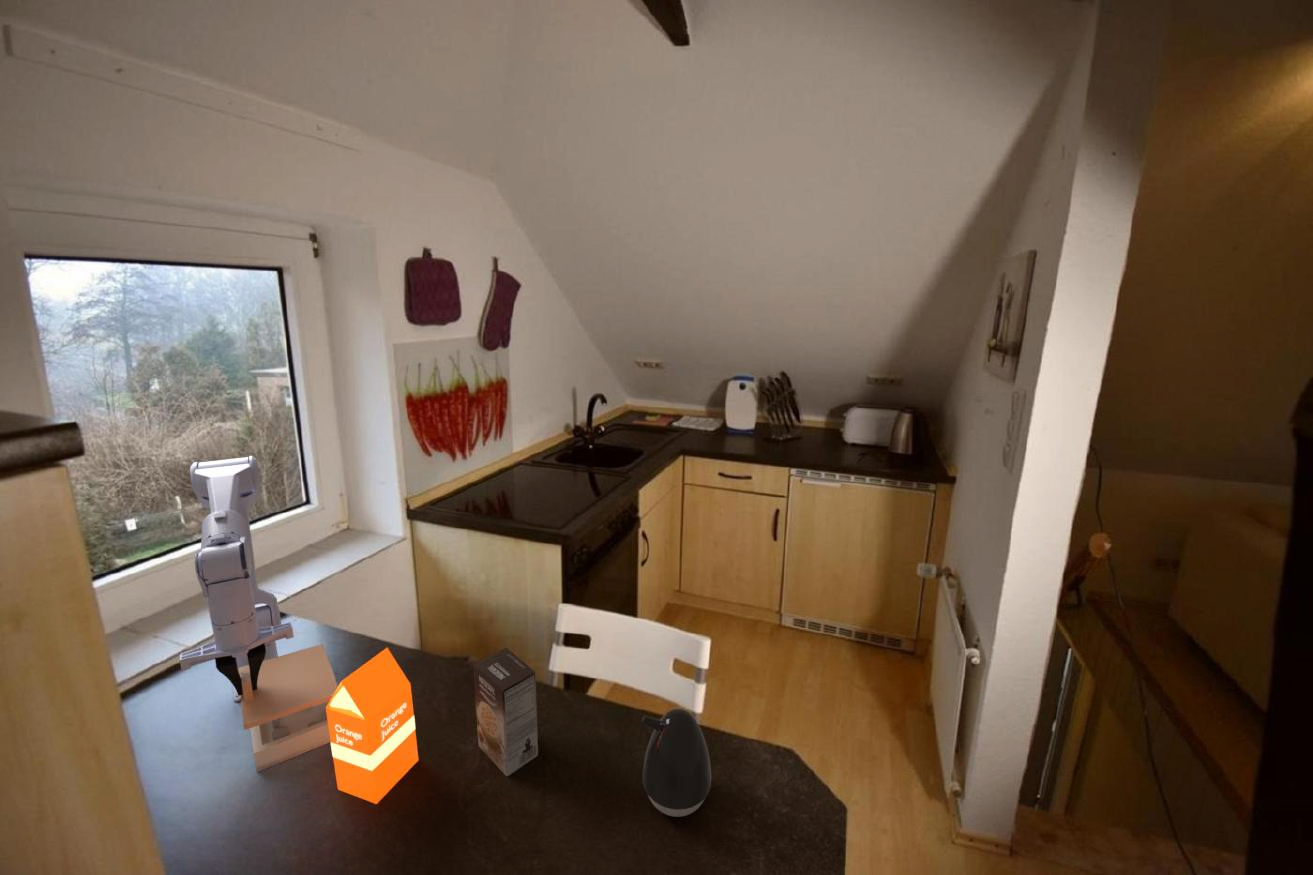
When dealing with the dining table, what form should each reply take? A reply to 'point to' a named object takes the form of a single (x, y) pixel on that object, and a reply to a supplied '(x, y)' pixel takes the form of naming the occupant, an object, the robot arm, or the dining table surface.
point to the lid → (287, 686)
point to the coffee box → (506, 710)
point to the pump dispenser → (676, 764)
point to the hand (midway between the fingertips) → (247, 689)
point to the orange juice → (372, 728)
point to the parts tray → (290, 736)
